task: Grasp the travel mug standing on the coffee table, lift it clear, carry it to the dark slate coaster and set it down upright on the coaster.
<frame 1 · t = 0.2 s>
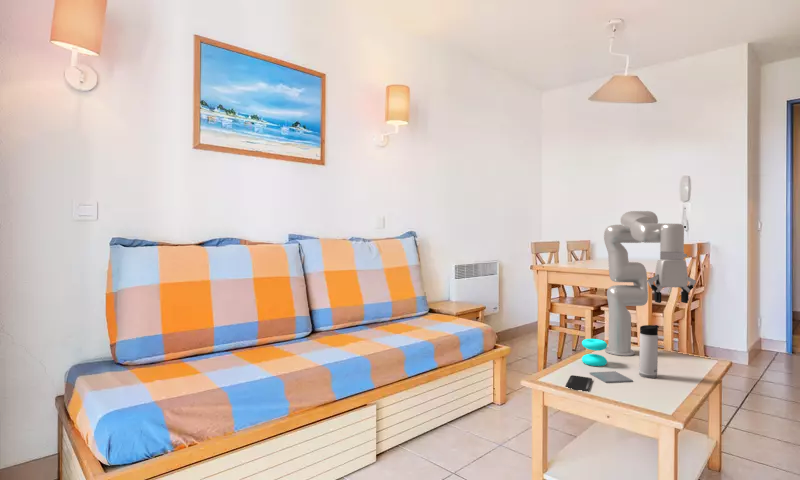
hand: (671, 302, 170), 30 cm above the table, fingers open, 9 cm apart
travel mug: (648, 376, 180), on the table
donuts: (594, 364, 196), on the table
coaster: (610, 377, 177), on the table
phone: (578, 385, 170), on the table
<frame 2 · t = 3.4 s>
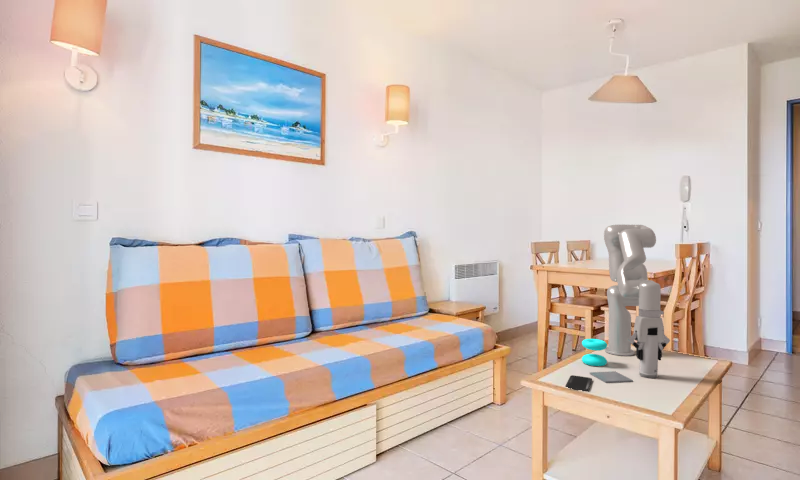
hand: (648, 358, 179), 7 cm above the table, fingers closed on travel mug, 6 cm apart
travel mug: (648, 376, 180), on the table, touching gripper
everything else where it was.
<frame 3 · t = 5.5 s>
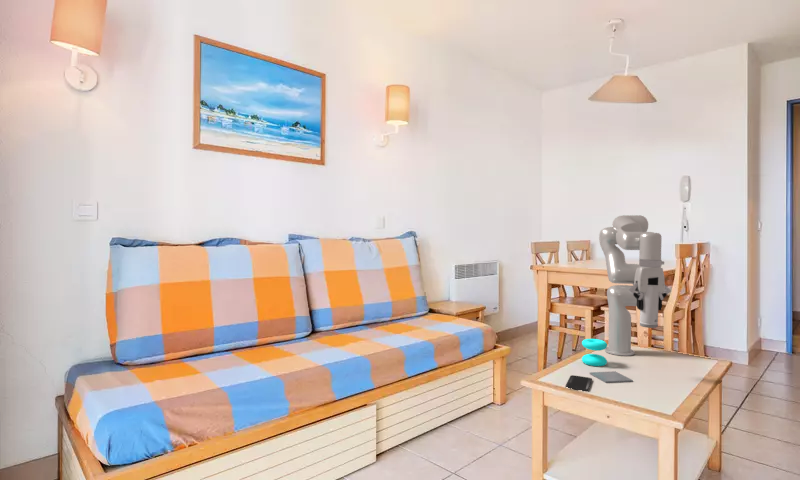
hand: (649, 309, 180), 26 cm above the table, fingers closed on travel mug, 6 cm apart
travel mug: (649, 326, 180), point 19 cm above the table, touching gripper
everything else where it was.
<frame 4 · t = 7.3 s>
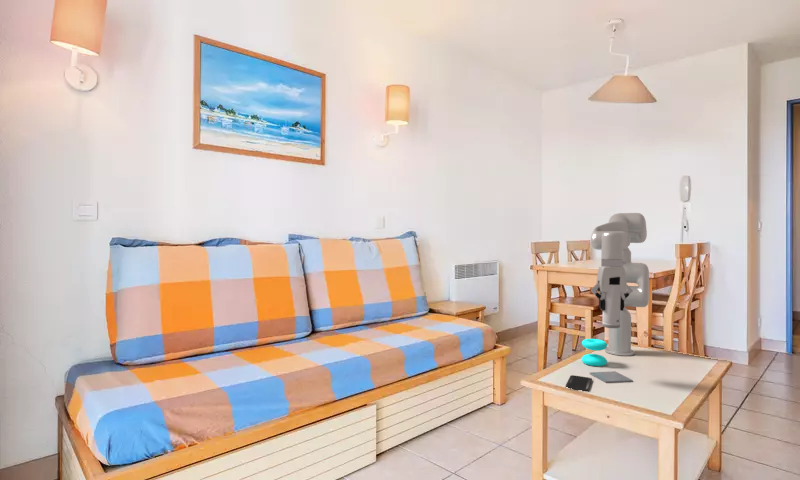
hand: (611, 309, 177), 27 cm above the table, fingers closed on travel mug, 6 cm apart
travel mug: (611, 327, 177), point 20 cm above the table, touching gripper
everything else where it was.
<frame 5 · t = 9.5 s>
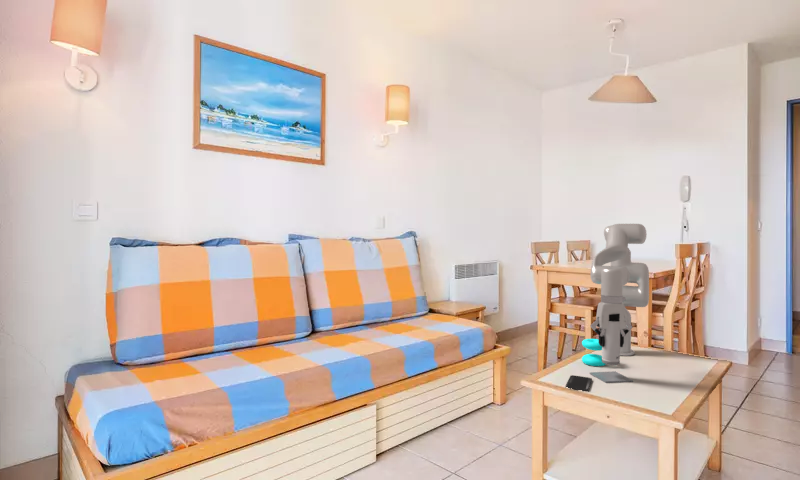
hand: (611, 345, 177), 13 cm above the table, fingers closed on travel mug, 6 cm apart
travel mug: (611, 363, 177), point 6 cm above the table, touching gripper
everything else where it was.
when the fingers open (8 cm above the table, at t = 11.4 s): travel mug drops 1 cm, resting on coaster.
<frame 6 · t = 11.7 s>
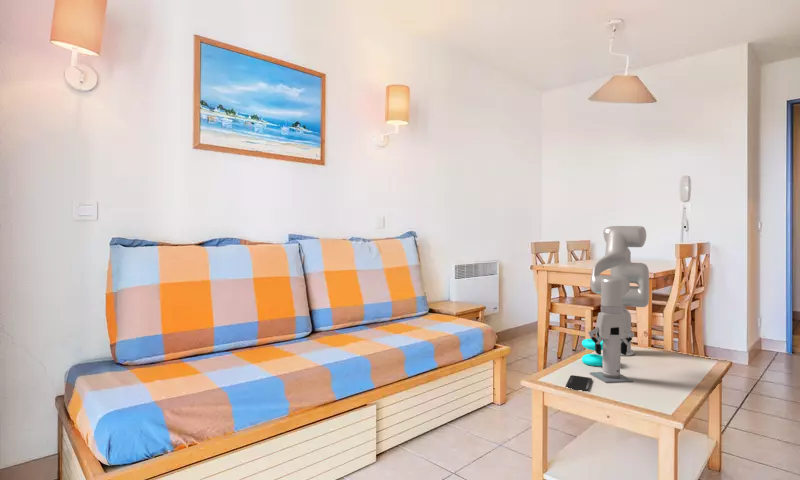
hand: (610, 354, 177), 9 cm above the table, fingers open, 9 cm apart
travel mug: (611, 376, 177), resting on coaster
everything else where it was.
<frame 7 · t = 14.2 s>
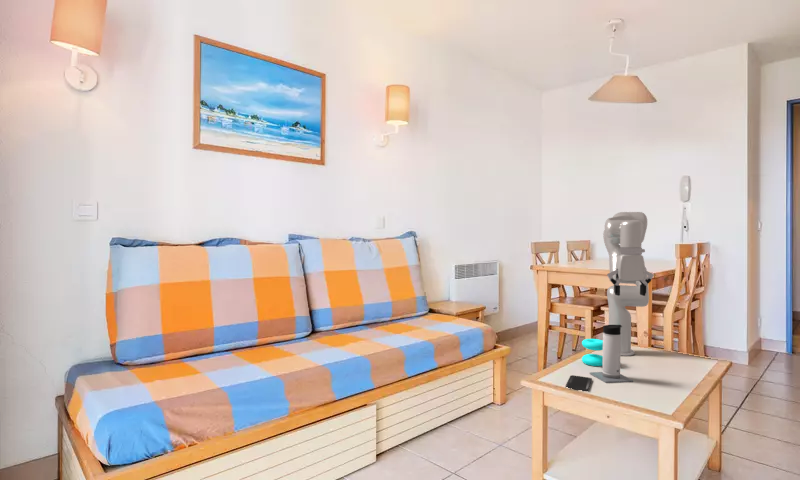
hand: (629, 295, 180), 32 cm above the table, fingers open, 9 cm apart
nothing on the table moved.
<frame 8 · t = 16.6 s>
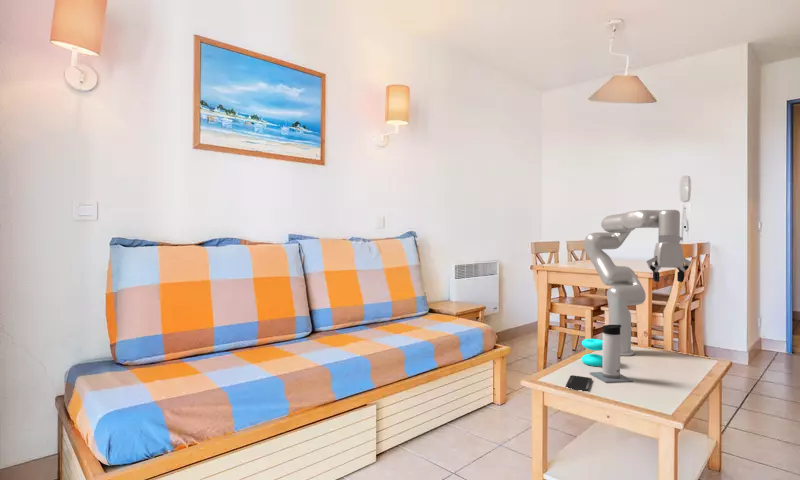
hand: (668, 281, 188), 36 cm above the table, fingers open, 9 cm apart
nothing on the table moved.
at the end: travel mug inside the target area on the coaster (0.5 cm from its centre), point 0.4 cm above the coaster's base; travel mug tilted 0°; the gripper is holding nothing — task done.
